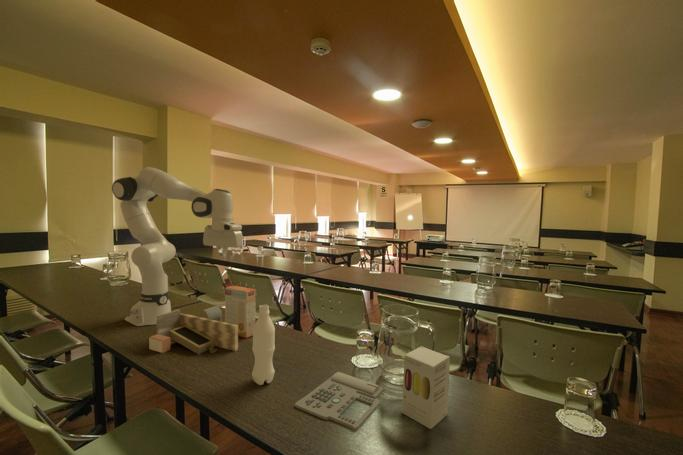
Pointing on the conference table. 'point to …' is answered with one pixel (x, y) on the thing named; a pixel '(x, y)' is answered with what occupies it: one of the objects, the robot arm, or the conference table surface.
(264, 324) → the water bottle
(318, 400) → the office telephone
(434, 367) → the supplement box
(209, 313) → the ceramic mug
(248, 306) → the cracker box
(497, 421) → the conference table surface
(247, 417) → the conference table surface
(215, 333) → the shelf
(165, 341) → the orange brown block
